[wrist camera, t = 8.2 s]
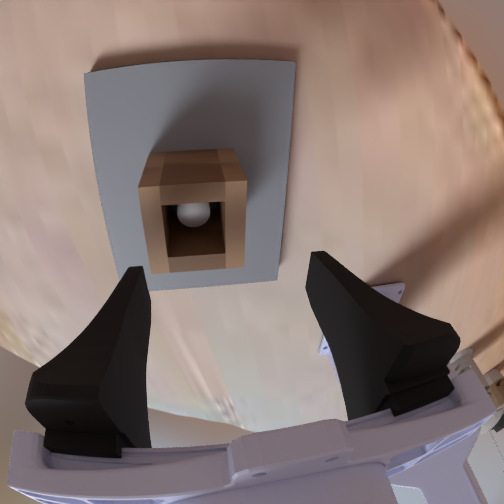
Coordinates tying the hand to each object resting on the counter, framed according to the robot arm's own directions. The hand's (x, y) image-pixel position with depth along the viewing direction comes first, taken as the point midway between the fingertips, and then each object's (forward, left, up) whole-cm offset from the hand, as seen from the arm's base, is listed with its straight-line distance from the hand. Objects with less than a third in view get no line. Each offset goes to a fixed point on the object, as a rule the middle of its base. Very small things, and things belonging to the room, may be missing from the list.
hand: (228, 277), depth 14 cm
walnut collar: (+1, +1, -8) cm, 8 cm away
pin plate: (0, +1, -9) cm, 9 cm away
